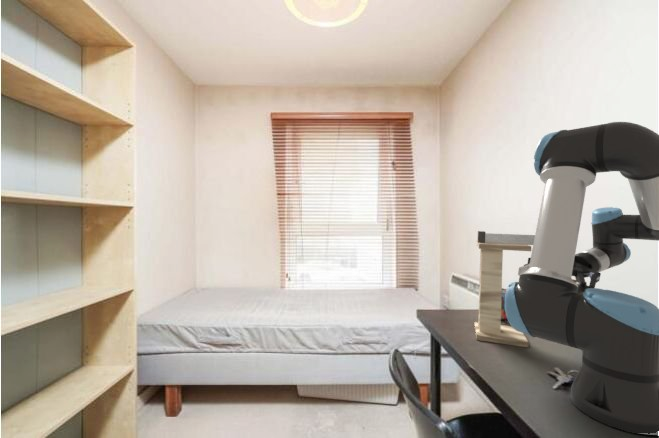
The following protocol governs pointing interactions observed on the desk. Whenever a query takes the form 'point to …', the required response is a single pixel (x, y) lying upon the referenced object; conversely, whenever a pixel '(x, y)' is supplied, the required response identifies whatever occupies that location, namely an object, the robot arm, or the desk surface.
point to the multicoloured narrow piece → (503, 304)
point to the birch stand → (495, 296)
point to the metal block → (505, 238)
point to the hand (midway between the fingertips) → (539, 281)
